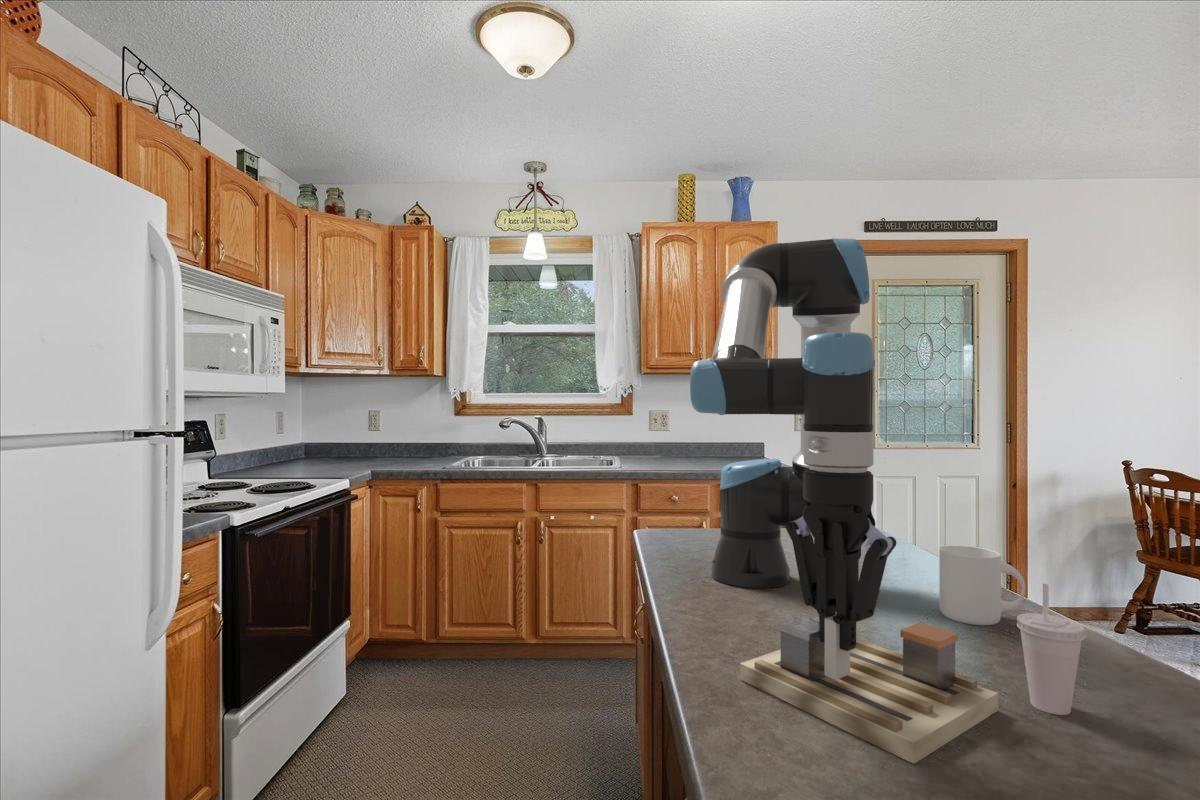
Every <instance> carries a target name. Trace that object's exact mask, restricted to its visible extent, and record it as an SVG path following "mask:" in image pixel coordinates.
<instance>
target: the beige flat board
mask: <svg viewBox="0 0 1200 800" xmlns="http://www.w3.org/2000/svg"><path fill="white" fill-rule="evenodd" d="M739 680H741V681H742V682H744V683H747V684H749V685H751V686H753V687H755V688H757V689H758V690H762V691H763V692H765V693H767V694H769V695H771V696H774V697H775V698H777V699H779V700H781V701H784V702H786V703H788V704H790V705H792V706H794V707H796V708H798V709H800V710H802V711H804V712H806V713H808V714H809V715H810V714H811V715H812V716H815V717H817V718H818V719H821V720H823V721H825V722H827V723H829V724H830V725H832V726H835V727H837V728H839V729H841V730H844V731H845V732H848V733H849V734H851V735H854V736H856V737H857V738H859V739H862V740H864V741H866V742H868V743H869V744H872V745H874V746H877V747H879V748H880V749H883V750H884V751H886V752H888V753H891V754H893V755H894V756H897V757H899V758H901V759H903V760H905V761H907V762H909V763H911V764H912V765H913V764H917V762H919V761H922V759H924V758H926V757H927V756H928V755H930V754H932V753H933V752H935V751H937V750H939V749H940V748H942V747H943V746H944V745H946V744H948V743H949V742H951V741H952V740H954V739H955V738H957V737H959V736H960V735H963V734H964V733H965V732H967V731H968V730H970V729H972V728H973V727H974V726H976V725H978V724H979V723H981V722H982V721H984V720H985V719H987V718H989V717H991V716H992V715H993V714H995V713H997V712H999V692H996V691H993V690H991V689H988V688H985V687H983V686H980V685H978V680H977V679H975V678H972V677H969V676H966V675H963V674H960V673H958V672H955V684H954V685H952V686H950V687H948V688H946V689H944V690H939V689H936V688H934V687H931V686H928V685H926V684H923V683H920V682H918V681H915V680H912V679H910V678H907V677H904V676H903V653H900V652H896V651H894V650H892V649H891V650H890V649H887V648H886V647H882V646H879V645H876V644H874V643H870V642H868V641H865V640H862V639H858V638H856V646H855V649H852V650H850V674H849V675H847V676H844V677H842V678H840V679H837V680H835V679H832V678H830V677H828V676H826V677H823V678H821V679H818V680H816V681H814V682H812V681H810V680H807V679H805V678H803V677H800V676H798V675H796V674H793V673H791V672H789V671H787V670H784V669H782V668H781V648H780V649H777V650H774V651H772V652H768V653H766V654H763V655H760V656H757V657H754V658H751V659H748V660H746V661H743V662H740V663H739Z"/></svg>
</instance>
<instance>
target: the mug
mask: <svg viewBox="0 0 1200 800" xmlns="http://www.w3.org/2000/svg"><path fill="white" fill-rule="evenodd" d="M938 551H939V552H938V553H939V555H938V556H939V559H938V560H939V565H938V566H939V570H938V571H939V580H938V582H939V587H938V588H939V589H938V590H939V599H938V601H939V610H940V612H941V614H942V615H943V616H944V617H945V618H947V619H950V620H952V621H955V622H958V623H962V624H966V625H972V626H973V625H974V626H993V625H997V624H998V623H999V622H1000V621H1001V618H1002V613H1007V612H1011V611H1015V610H1016V609H1017V608H1019V606H1021V604H1022V603H1023V601H1024V598H1025V594H1026V593H1025V592H1026V583H1025V580H1024V577H1023V576H1022V574H1021V573H1020V572H1019V571H1018V570H1017V569H1016V568H1015V567H1014V566H1012V565H1011V564H1009V563H1007V562H1005V561H1003V560H1002V554H1001V553H1000V552H998V551H995V550H993V549H989V548H983V547H978V546H971V545H961V544H960V545H959V544H954V545H953V544H952V545H951V544H950V545H942V546H940V547H939V550H938ZM1002 574H1007V575H1010V576H1013V577H1014V578H1015V579H1016V580H1017V581H1018V582H1019V583H1020V586H1021V587H1020V588H1021V593H1020V596H1018V598H1017V599H1015V600H1014V601H1006V600H1004V599H1002Z"/></svg>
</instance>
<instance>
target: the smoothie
mask: <svg viewBox="0 0 1200 800" xmlns="http://www.w3.org/2000/svg"><path fill="white" fill-rule="evenodd" d="M1049 586H1050V585H1049V584H1047V583H1042V613H1036V612H1029V613H1021V614H1018V615H1017V617H1016V619H1017V620H1016V621H1017V622H1016V626H1017V628H1018V629H1020V637H1021V644H1022V651H1023V658H1024V659H1023V660H1024V664H1025V672H1026V680H1027V686H1028V687H1027V688H1028V695H1029V699H1030V700H1029V701H1030V704H1031V706H1033V707H1034V708H1035V709H1037V710H1039V711H1041V712H1044V713H1047V714H1052V715H1057V716H1067V715H1069V714H1071V709H1072V705H1073V698H1074V692H1075V686H1076V681H1077V680H1076V679H1077V672H1078V668H1079V666H1078V665H1079V660H1080V655H1081V646H1082V641H1083V640H1085V639H1086V638H1087V636H1086V628H1085V626H1083V625H1082V624H1081V623H1079V622H1077V621H1075V620H1072V619H1069V618H1065V617H1062V616H1058V615H1053V614H1050V613H1049V612H1050V609H1049V606H1050V603H1049V601H1050V593H1049V591H1050V589H1049V588H1050V587H1049Z"/></svg>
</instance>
